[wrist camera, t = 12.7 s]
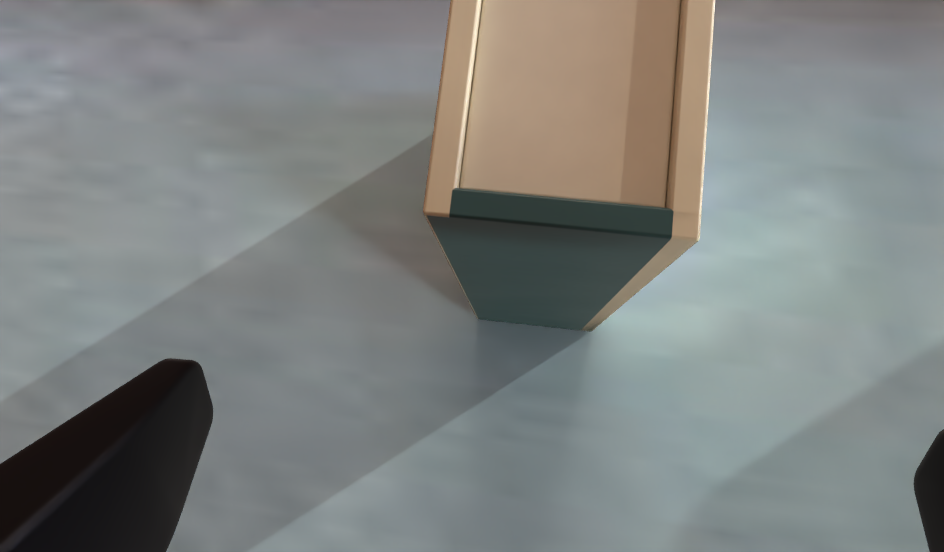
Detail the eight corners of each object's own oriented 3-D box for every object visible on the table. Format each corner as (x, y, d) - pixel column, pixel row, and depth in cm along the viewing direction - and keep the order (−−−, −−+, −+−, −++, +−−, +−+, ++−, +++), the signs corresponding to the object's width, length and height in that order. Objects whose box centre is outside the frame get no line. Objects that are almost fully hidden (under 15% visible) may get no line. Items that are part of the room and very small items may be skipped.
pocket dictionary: (592, 331, 21) (700, 241, 9) (476, 319, 21) (421, 214, 9) (613, 97, 22) (734, -276, 10) (503, 88, 22) (487, -284, 10)
